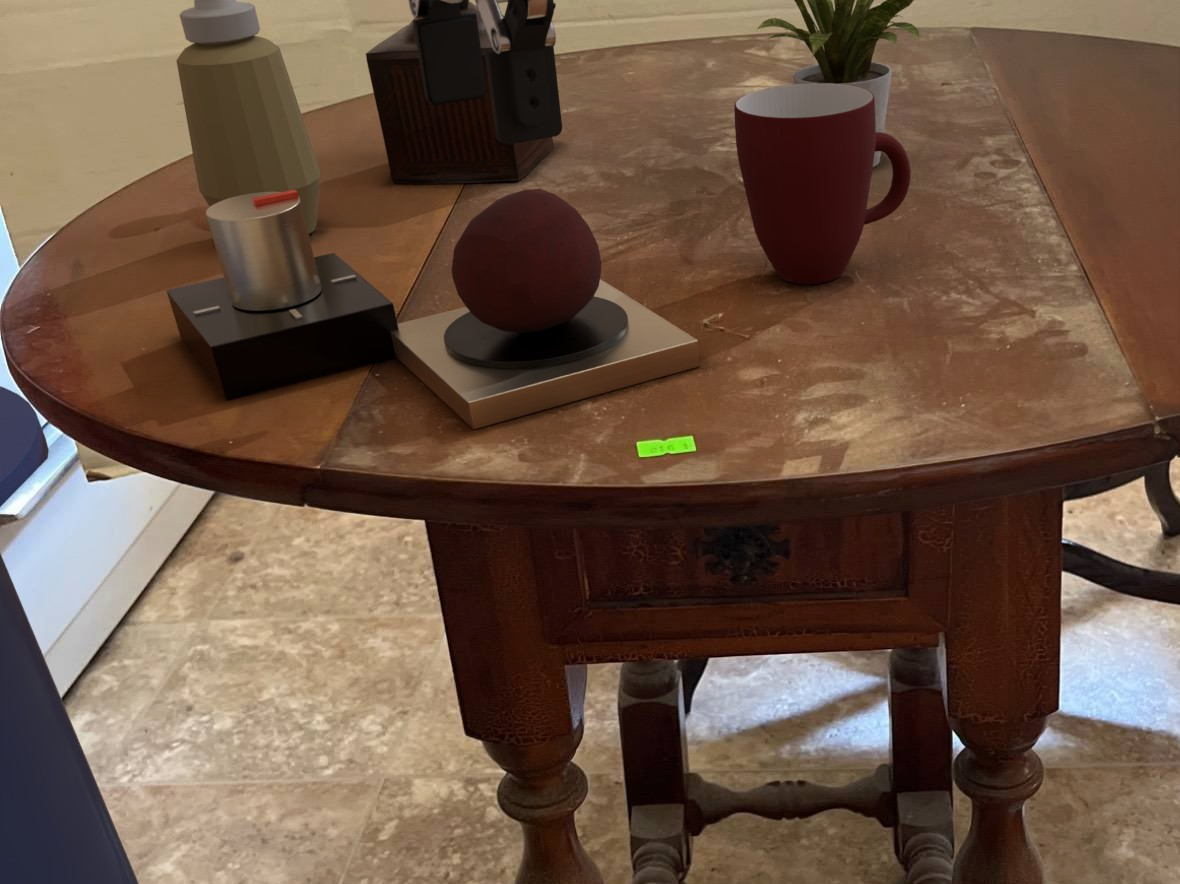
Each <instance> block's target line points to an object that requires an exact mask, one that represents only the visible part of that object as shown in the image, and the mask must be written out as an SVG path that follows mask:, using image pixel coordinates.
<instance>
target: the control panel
mask: <svg viewBox="0 0 1180 884" xmlns="http://www.w3.org/2000/svg"><path fill="white" fill-rule="evenodd" d="M314 259H315V263H316V267H317V271H318V275H319V279H320V284H321V292H320V293H319V294H318V295H317V296H316V297H314V298H313V299H311V300H309V301H307V302H305V303H302V304H299V305H296V306H292V307H289V308H284V309H278V310H271V311H247V310H242V309H238V308H236V307H234V306H233V305H232V303H231V301H230V297H229V294H228V290H227V287H226V283H225V279H224V276H223V277H219V278H214V279H210V280H205V281H201V282H196V283H192V284H188V285H183V286H179V287H173V288H170V289H166V294H167V297H168V300H169V304H170V308H171V311H172V313H173V317H174V320H175V324H176V327H177V329H178V333H179V337H180V340H181V341H182V342H183V344H184V345H185V346H186V347H187V349H188V350H189V351H190V353H191V354H192V356H193V357H194V359H195V360H196V361H197V362H198V364H199V365H200V366H201V368H202V369H203V370H204V372H205V373H206V375H207V376H208V377H209V379H210V380H211V381H212V382H213V384H214V385H215V387H216V388H217V389H218V390H219V392H220V393H221V394H222V396H223V397H224V398H225V400H227V401H229V400H233V399H236V398H240V397H244V396H248V395H252V394H255V393H260V392H263V391H267V390H271V389H275V388H279V387H284V386H288V385H292V384H295V383H298V382H304V381H308V380H311V379H315V378H320V377H323V376H327V375H331V374H335V373H339V372H343V371H347V370H351V369H354V368H358V367H363V366H366V365H370V364H374V363H379V362H382V361H386V360H391V359H393V358H397V357H396V355H395V351H394V346H393V341H392V337H391V331H395V330H399V329H398V320H397V316H396V311H395V306H394V303H393V302H392V301H391V300H390V299H389V298H387V297H386V295H384V294H383V293H382V292H381V291H379V290H378V289H377V288H376V287H375V286H373V285H372V284H371V283H370V282H369V281H367V279H365V277H363V276H362V275H361V274H359V272H358V271H356V270H355V269H353V268H352V267H351V265H349V264H348V263H347V262H345V260H343V259H342V258H341V257H340V256H339V255H338V254H336V253H335V252H332V253H327V254H322V255H318V256H314Z"/></svg>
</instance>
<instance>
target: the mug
mask: <svg viewBox="0 0 1180 884" xmlns="http://www.w3.org/2000/svg"><path fill="white" fill-rule="evenodd" d="M733 107H734V109H733V110H734V131H735V132H734V133H735V146H736V155H737V161H738V165H739V168H740V173H741V178H742V182H743V187H744V190H745V195H746V200H747V203H748V208H749V212H750V216H751V217H750V218H751V221H752V225H753V228H754V232H755V235H756V238H757V240H758V243H759V245H760V247H761V248H762V250H763V253H764V254H765V256H766V258H767V259H768V261H769V262H770V264H771V266H772V268H773V269H774V271H775V272H776V274H777V276H778V277H779V278H780V279H781V280H782V281H784V282H787V283H791V284H795V285H817V284H818V285H819V284H824V283H828V282H831V281H835V280H836V279H839V278H840V277H841V276H843V274H844V272H845V271H846V269H847V267H848V265H849V263H850V261H851V259H852V257H853V255H854V253H855V251H856V249H857V246H858V244H859V242H860V239H861V236H862V234H863V230H864V226H865V225H868V224H872V223H875V222H878V221H880V220H883V219H884V218H887V217H888V216H889V215H891V214H892V213H894V212H895V211H896V210H897V209H898V208H899V207H900V206H901V205H902V204H903V202H904V200H905V199H906V197H907V194H908V192H909V188H910V184H911V165H910V159H909V156H908V153H907V151H906V149H905V148H904V146H903V145H902V144H901V142H900V141H899V140H898V139H897V138H895V137H894V136H893V135H892V134H889V133H886V132H884V133H881V132H876V120H875V98H874V95H873V94H872V93H871V92H870V91H868V90H866V89H864V88H861V87H857V86H852V85H844V84H833V83H806V84H794V83H792V84H785V85H778V86H772V87H767V88H766V87H765V88H762V89H759V90H755V91H752V92H749V93H746V94H744V95H742V96H740V97H739V98H738V99H737V100H736V101H735V102H734V106H733ZM876 151H881V153H884V154H885V155H886V156H887V158H888V159H889V161H890V165H891V169H892V178H891V184H890V187H889V190H888V192H887V194H886V195H885V196H884V198H883V199H882V200H881V201H880V202H879V203H877V204H876V205H874V206H871V207H869V208H868V201H869V195H870V194H869V193H870V188H871V180H872V175H873V168H874V167H873V162H874V154H875V152H876Z"/></svg>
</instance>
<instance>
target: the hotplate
mask: <svg viewBox="0 0 1180 884" xmlns="http://www.w3.org/2000/svg"><path fill="white" fill-rule="evenodd" d="M397 324H398V329H399V330H395V331H391V337H392V341H393V346H394V351H395V355H396V357H395V358H397V359H398V360H399V361H400V362H401V363H402V364H403V365H404V366H405V367H406V368H407V369H408V370H409V371H410V372H412V373H413V375H415V376H416V377H417V378H418V379H419V380H420V381H421V382H422V383H423V384H425V386H426V387H427V388H429V389H430V390H431V391H432V392H433V393H434V394H435V395H436V396H437V397H438V398H439V399H440V400H441V401H443V402H444V403H445V405H447V406H448V407H449V408H450V409H451V410H452V412H454V413H455V414H456V415H458V416H459V418H461V420H463V421H464V422H465V423H466V424H467V425H468V426H469V427H470V428H472V430H478V429H482V428H484V427H488V426H492V425H495V424H498V423H502V422H506V421H510V420H513V419H517V418H520V417H524V416H527V415H531V414H534V413H538V412H542V411H545V410H548V409H552V408H555V407H559V406H563V405H567V404H570V403H573V402H578V401H581V400H585V399H588V398H591V397H592V398H593V397H595V396H598V395H602V394H603V395H604V394H606V393H610V392H613V391H617V390H621V389H623V388H627V387H631V386H634V385H635V386H636V385H638V384H641V383H645V382H648V381H653V380H656V379H659V378H663V377H666V376H670V375H674V374H678V373H681V372H684V371H689V370H692V369H696V368H699V367H700V366H701V362H700V350H699V341H698V339H697V338H695V337H693V336H691V334H689V333H687V332H686V331H684V330H683V329H681V328H679V327H677V326H676V325H674V324H673V323H671V322H669V320H667V319H665V318H663V317H662V316H660V315H658V314H657V313H655V312H653V311H652V310H651V309H649V308H647V307H646V306H644V305H643V304H641V303H639V302H638V301H636V300H635V299H633V298H632V297H630V296H628V295H627V294H625V293H623V292H622V291H621V290H619V289H617V288H616V287H614V286H613V285H611V284H609V283H608V282H606V281H604V280H603V279H601V278H600V282H599V287H598V289H597V291H596V293H595V295H594V297H593V299H592V300H591V301H590V302H589V303H588V304H587V305H586V306H585V307H584V308H583V309H582V310H581V311H580V312H579V313H578V314H577V315H575V316H574V317H573V318H572V319H570V320H568V321H566V322H564V323H562V324H560V325H557V326H554V327H551V328H548V329H544V330H541V331H536V332H505V331H502V330H499V329H497V328H494V327H492V326H489V325H487V324H484V323H482V322H481V321H480V320H479V319H477V318H476V317H475V316H474V315H473V314H472V313H471V312H470V311H469V310H468V308H467V307H466V306H463V307H460V308H456V309H451V310H448V311H443V312H440V313H436V314H432V315H431V314H430V315H427V316H423V317H419V318H416V319H410V320H407V321H403V322H399V323H398V322H397Z"/></svg>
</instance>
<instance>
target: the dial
mask: <svg viewBox="0 0 1180 884" xmlns="http://www.w3.org/2000/svg"><path fill="white" fill-rule="evenodd" d="M205 216H206V218H207V222H208V225H209V228H210V233H211V236H212V239H213V244H214V247H215V251H216V254H217V259H218V261H219V265H220V268H221V273H222V276H223V277H224V279H225V283H226V287H227V290H228V294H229V297H230V301H231V303H232V305H233V306H234V307H236V308H238V309H242V310H247V311H271V310H278V309H284V308H289V307H292V306H296V305H299V304H302V303H305V302H307V301H309V300H311V299H313V298H314V297H316V296H317V295H318V294H319V293H320V292H321V284H320V279H319V275H318V271H317V267H316V263H315V259H314V257H315V254H314V251H313V246H312V243H311V238H310V234H308V230H307V226H306V221H305V217H304V213H303V209H302V205H301V201H300V198H299V197H298V192H297V191H296V190H290V191H285V192H259V193H251V194H245V195H240V196H236V197H232V198H228V199H225V200H223V201H220V202H218V203H216V204H214V205H212V206H210V207H209V206H208V208H207V209H206V210H205Z"/></svg>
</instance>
